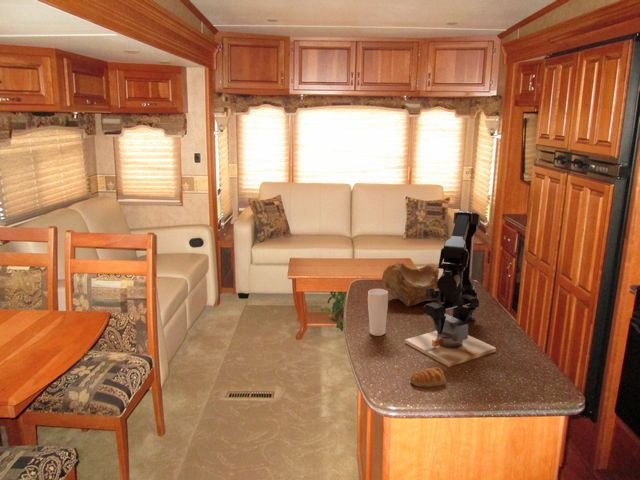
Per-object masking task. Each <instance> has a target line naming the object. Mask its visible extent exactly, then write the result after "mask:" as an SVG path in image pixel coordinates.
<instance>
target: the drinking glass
mask: <svg viewBox="0 0 640 480" xmlns="http://www.w3.org/2000/svg"><path fill="white" fill-rule="evenodd" d="M388 305H389V291H388V290H386V289H383V288H372V289H369V290H368V292H367V307H368V310H367V313H368V321H369V322H368V323H369V325H368V326H369V333H370V335H372V336H374V337H375V336H376V337H380V336H381V337H382V336H383V335H385V334H386V327H387V325H386V324H387V317H388V316H387V315H388Z"/></svg>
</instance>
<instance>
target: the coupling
mask: <svg viewBox="0 0 640 480" xmlns="http://www.w3.org/2000/svg"><path fill="white" fill-rule="evenodd" d="M444 316H446V319H445V323H444V327H443V330H442V333H441V335H440V334H438V332H437V338H436V339H433V340H432V346H434V347H436V346H439V345H440V346H443V347H446V348H458V347H461V346H462V345H463V340H465V339H468V335H469V322H468V323H467V322H464V321H461V320H459V319H457V318H454V317H452V316H453V315H449V314H448V313H445V315H444ZM433 330H434V331H437V329H436V326H435V323H434V322H433Z"/></svg>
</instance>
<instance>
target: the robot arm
mask: <svg viewBox="0 0 640 480" xmlns="http://www.w3.org/2000/svg"><path fill="white" fill-rule="evenodd" d="M481 220H482V219H481V215H480V214H478V212H475V211H469V210H458V211H456V212H454V214H453V220H452V221H453V222H452V223H453V229H452V233H451V236H450V238H449V239H447V240H445V242H444V245H443V247H441V250H440V255H439V261H438V265H437V266H438V268H439V270H442V274H441V275H440V277H438V282H437V286H438V289H436V290H434V289H433V288H430V289H426V298H427V299H431V301H430V302H428V303H426V304H425V305H424V306H423V311H422V312H423V314H426V315H427V316H429V317H430V318H432V320H433V324H434V323H435V326H436V329H437V332H438V334H440V335H441V333H442V330H443V327H444V323H445V319H446V316H444V315H445V314H447V310H448V311H449V310H452V315H451V316H452V317H454V318H457V319H459V320H461V321H464V322H466V323H467V322H468V323H469V322H471V321H475V320H476V318H475V317H473V313H474V311H476V310H477V308H479V307H480V306H479V305H480V301H479V298H478V293H477V290H476V289H475V281H474V279H473V278H472V277H471V274H472V273H471V271H472V255H473V241H474V238H473V237H474V235H475V234H476V233H477V231H478V230H479V227H480V225H481ZM433 301H437V302H438V303H437V302H433ZM440 303H442V304H440Z"/></svg>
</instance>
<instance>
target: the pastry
mask: <svg viewBox="0 0 640 480" xmlns="http://www.w3.org/2000/svg"><path fill="white" fill-rule="evenodd" d="M446 380H447V379H446V377H445V375H444V371H443V370H442V369H441V367H437V366H434V367H428V368H423V369H421V370H420V371H418V372H415V373H414V374H413V375H411V377H410V380H409V382H410V383H411V385H414V386H415V387H420V388H421V387H422V388H423V387H424V388H425V387H426V388H431V387H438V386H443V385H445V384H446Z"/></svg>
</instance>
